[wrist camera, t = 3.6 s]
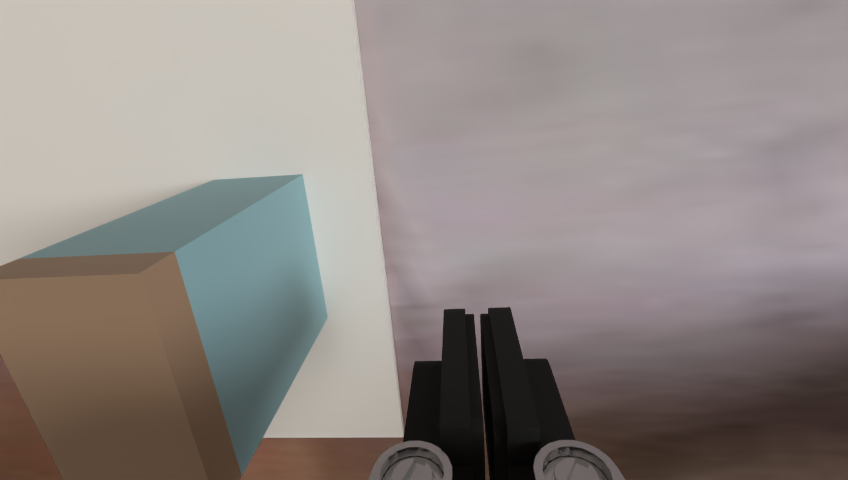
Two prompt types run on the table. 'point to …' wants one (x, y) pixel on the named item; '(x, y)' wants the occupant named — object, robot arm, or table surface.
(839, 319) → the table surface
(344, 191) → the board
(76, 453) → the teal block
